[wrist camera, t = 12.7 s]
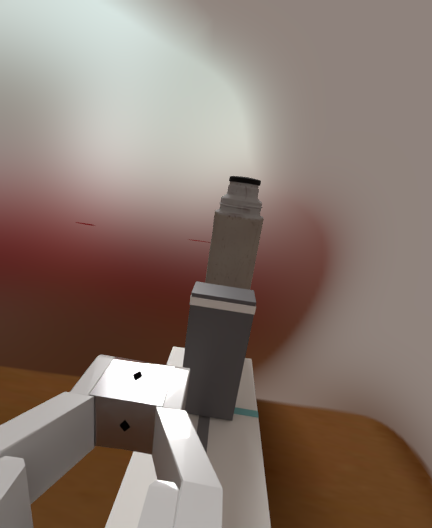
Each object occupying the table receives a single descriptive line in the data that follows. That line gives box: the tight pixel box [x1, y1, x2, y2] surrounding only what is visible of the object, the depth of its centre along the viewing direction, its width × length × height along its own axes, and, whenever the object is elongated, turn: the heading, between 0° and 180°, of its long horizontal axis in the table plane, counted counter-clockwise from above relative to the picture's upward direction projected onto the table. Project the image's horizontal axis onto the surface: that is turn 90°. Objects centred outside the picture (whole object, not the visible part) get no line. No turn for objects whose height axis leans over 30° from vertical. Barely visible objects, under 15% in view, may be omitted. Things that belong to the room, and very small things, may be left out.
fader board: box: [105, 347, 271, 528], centre depth 24 cm, size 12×32×2 cm, turn 177°
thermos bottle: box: [205, 176, 263, 290], centre depth 44 cm, size 8×8×28 cm
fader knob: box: [183, 282, 256, 421], centre depth 27 cm, size 6×3×14 cm, turn 87°
